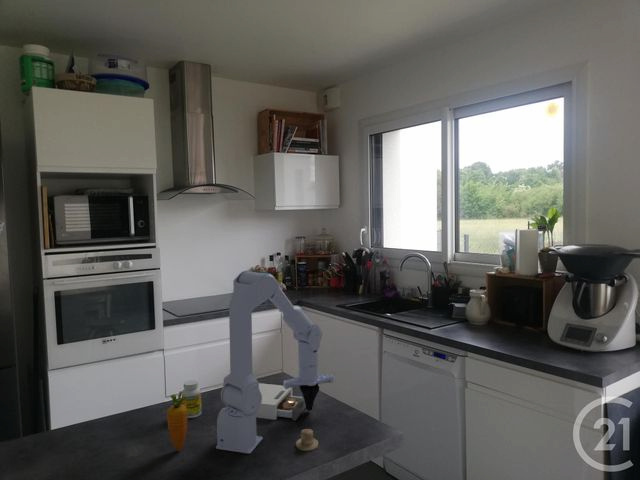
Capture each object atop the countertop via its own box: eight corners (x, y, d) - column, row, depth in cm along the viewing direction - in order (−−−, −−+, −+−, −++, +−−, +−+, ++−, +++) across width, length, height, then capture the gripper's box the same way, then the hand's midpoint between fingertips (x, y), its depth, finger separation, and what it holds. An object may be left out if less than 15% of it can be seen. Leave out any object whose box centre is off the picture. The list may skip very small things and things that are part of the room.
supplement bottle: (199, 408, 142) (198, 377, 141) (203, 415, 137) (202, 383, 136) (180, 412, 139) (179, 381, 138) (184, 420, 134) (183, 387, 134)
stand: (292, 449, 118) (292, 435, 117) (300, 438, 123) (300, 425, 123) (314, 452, 116) (314, 438, 116) (320, 441, 121) (320, 428, 121)
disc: (276, 409, 138) (276, 403, 138) (281, 402, 143) (281, 396, 143) (292, 410, 137) (292, 404, 137) (297, 403, 142) (297, 398, 142)
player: (230, 414, 138) (230, 399, 137) (251, 395, 151) (251, 382, 151) (275, 419, 134) (275, 404, 133) (292, 400, 147) (292, 386, 147)
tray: (252, 415, 136) (252, 405, 136) (270, 397, 149) (269, 387, 149) (295, 420, 132) (295, 410, 132) (310, 401, 145) (309, 392, 145)
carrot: (181, 443, 121) (179, 386, 120) (193, 449, 118) (190, 391, 117) (164, 451, 117) (161, 393, 116) (175, 458, 114) (173, 398, 113)
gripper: (287, 371, 131) (288, 418, 132) (336, 365, 135) (337, 411, 136) (281, 363, 138) (282, 408, 139) (328, 357, 142) (329, 401, 143)
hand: (309, 409), depth 138 cm, fingers closed
